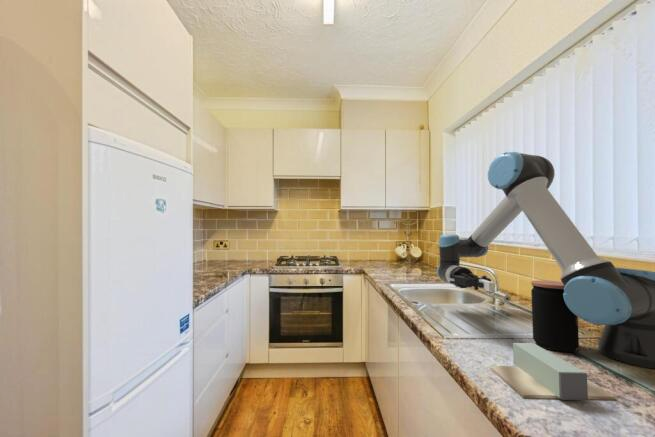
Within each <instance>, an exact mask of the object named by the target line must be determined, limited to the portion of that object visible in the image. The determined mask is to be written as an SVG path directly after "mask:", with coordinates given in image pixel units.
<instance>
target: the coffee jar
mask: <svg viewBox="0 0 655 437" xmlns="http://www.w3.org/2000/svg"><path fill="white" fill-rule="evenodd" d="M530 284H531V285H532V287H533V288H531V290H530V291H531V319H532V339H533V341H534V342H535V344H536V345H538V346H539V347H541V348H543V349H546V350H547V349H548V350H551V351H556V352H564V353H572V352H575V351H577V349H578V348H579V347H580V340H579V339H580V338H579V321H578V320H579V317H577V316H576V315H575V314H573V313H572V312H571V310H570V309H569V308H568V307H567V305H566V303H565V301H564V297H563V293H564V287H565V286H564V284H563V283H562V281H557V280H556V281H555V280H531V281H530Z"/></svg>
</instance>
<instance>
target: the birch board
mask: <svg viewBox="0 0 655 437" xmlns="http://www.w3.org/2000/svg"><path fill="white" fill-rule="evenodd" d="M489 369H490V370H491V371H492V372H493V373H494V374H495V375H497V377H499V378H500V379H501V380H502V381H503V382H504V383H505V384H506V385H508V386H509V387H510V388H511V389H512V390H514V392H516V393H517V394H518V395H519V397H521V398H522V399H558V400H559V399H560V398H559V397H557V396H556V395H555V394H553V393H552V392H551V391H549V390H548V389H547V388H546V387H544V386H543V385H542V384H540V383H539V382H538V381H536V380H535V379H534V378H532V377H531V376H530V375H528V374H527V373H526V372H524V371H523V370H522V369H520V368H519V367H518V366H516V365H514V366H511V365H510V366H509V365H489ZM587 387H588V400H607V401H608V400H609V401H611V400H612V401H613V400H617V398H616V396H615V395H614V394H612V393H610V392H609V391H607V390H605V389H604V388H602V387H601V386H599V385H597V384H595V383H593V382H592V381H590V380H588V379H587ZM560 400H561V399H560Z"/></svg>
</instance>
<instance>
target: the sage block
mask: <svg viewBox="0 0 655 437" xmlns="http://www.w3.org/2000/svg"><path fill="white" fill-rule="evenodd" d="M512 351H513V352H512V355H513V359H512V361H513V364H514V366H518V367H519V368H520V369H522V370H523V371H524V372H526V373H527V374H528V375H530V376H531V377H532V378H534V379H535V380H536V381H538V382H539V383H540V384H542V385H543V386H544V387H546V388H547V389H548V390H549V391H551V392H552V393H553V394H555V395H556V396H557V397H559V398H560V400H568V401H569V400H572V401H585V400H586V401H588V400H589V399H588V387H587V380H588V373H587V372H585V371H583V370H581V369H580V368H578V367H577V366H574V365H573V364H571V363H569V362H567V361H566V360H564V359H563V358H560V357H558V355H555V354H553V353H552V352H550V351H548V350H547V349H546V348H544V347H541V346H539V345H537V344H536V343H534V342H513V343H512Z"/></svg>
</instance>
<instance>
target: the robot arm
mask: <svg viewBox="0 0 655 437" xmlns="http://www.w3.org/2000/svg"><path fill="white" fill-rule="evenodd" d="M555 175H556V174H555V168H554V165H553V163H552V162H551V161H550V160H549V159H547V158H546V157H544V156H540V155H535V154H527V153H522V152H521V153H520V152H517V151H506V152H502V153H500V154H499V155H497V156H496V157H494V158H493V160H492V161H491V163H490V165H489V167H488V171H487V180H488V182H489V184H490V185H491V186H492V187H493V188H494V189H496V190H501V191H503V193H504V195H505V197H504V198H502V200H501V201H500V202H499V203H498V205H496V207H495V208H493V210H492V211H491V212H490V213H489V215H488V216H487V217H485V219H484V220H483V221H482V222H481V223H480V225H479V226H478V227H477V228H476V229H475V230H474V231H473V233H472V234H470V236H469V237H468V238H465V239H463V238H461V239H460V236H459V235H458V234H442V235H440V236H439V243H438V248H439V265H438V267H437V269H436V274H437V276H438V278H439V279H440V280H442V281H443V282H444V283H448V284H450V285H453V286H455V288H460V289H467V288H472V287H473V288H474V290H475V291H479V290H480V289H481V290H483V291H486V292H490V293H492V292H493V293H495V282H493V281H492V279H491V278H489V277H487V275H485V274H484V275H481V276H480V277H479V275H476V274H474V273H473V271H472V270H471V269H469V268H468V267H464V266H460V265H461V264H460V262H461V261H460V260H461V259H460V258H480V257H483V256H485V255H487V253H488V250H489V246H490V244H491V243H492V242H493V241H494V240H495V239H496V238H497V237H498V236H499V235H500V234H501V233H502V232H503V231H504V230H506V228H507V227H509V225H510V224H511V223H512V222H513V221H514V220H515V219H516V218H517V217H518V216H519V215H520V214H521V213H522V212H523V213H524V215H525V217H526V218H527V220H528V222H530V224H531V226H532V228H534V230H535V232H536V233H537V235H538V236H539V238H540V239H541V241H542V242H543V244H544V246H545V247H546V248H547V250H548V252H549V253H550V254H551V256H552V257H553V258H554V259H553V260H555V262H556V264H557V265H558V266H559V269H561V276H560V279H559V280H560V282H562V283H563V284H564V286H565V287H564V293H563V297H564V301H565V303H566V305H567V307H568V308H569V309H570V310H571V312H572V313H573V314H575V315H576V316H577V317H578V319H581V320H582V321H583V322H584V321H585V322H586V323H590V324H592V325H598V326H604V327H603V329H602V331H601V335H600V338H599V339H598V341H597V349H598V352H599V353H601V354H602V355H604V356H606V357H608V358H610V357H611V359H613V358H614V359H613V360H615V359H617V360H616V361H618V360H619V361H618V362H622V361H623V362H622V363H625V364H629V365H634V366H636V367H637V366H638V367H641V368H649V369H655V271H652V270H642V269H631V268H624V267H616V266H615V265H614V264H613V262H612V261H611V260H609V259H604V258H600V257H599V256H598V254H597V253H596V252H595V250H594V249H593V248H592V247H591V245H590V244H589V243H588V241H587V240H586V238H585V237H584V236H583V234H582V233H581V232H580V230H579V229H578V228H577V227H576V225H575V224H574V222H573V221H572V220H571V218H570V217H569V216H568V214H567V213H566V212H565V210H564V209H563V208H562V207H561V205H560V204H559V202H558V201H557V200H556V198H555V197H554V196H553V194H552V192H550V191H549V188H550V187H551V185H552V183H553V182H554V180H555V179H554V178H555Z"/></svg>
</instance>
